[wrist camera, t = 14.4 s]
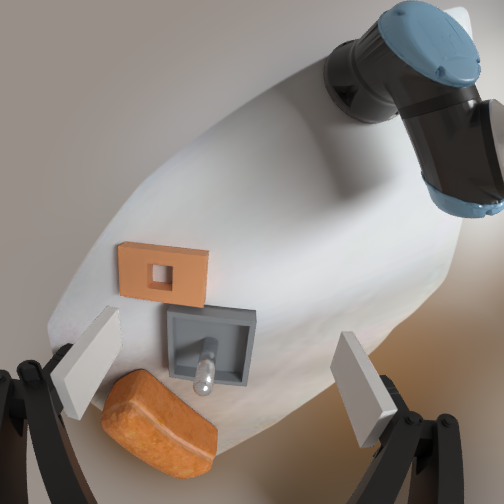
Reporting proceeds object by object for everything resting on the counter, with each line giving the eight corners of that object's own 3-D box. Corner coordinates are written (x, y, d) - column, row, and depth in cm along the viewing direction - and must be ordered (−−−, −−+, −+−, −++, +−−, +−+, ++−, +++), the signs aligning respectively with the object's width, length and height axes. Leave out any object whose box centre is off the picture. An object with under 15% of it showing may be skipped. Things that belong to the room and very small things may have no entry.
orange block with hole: (208, 250, 47) (206, 256, 44) (205, 299, 50) (203, 307, 47) (124, 241, 46) (117, 246, 43) (126, 288, 49) (120, 295, 46)
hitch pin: (219, 337, 51) (212, 387, 38) (218, 350, 52) (211, 401, 39) (202, 335, 51) (191, 385, 38) (202, 348, 51) (191, 398, 38)
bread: (184, 443, 62) (176, 489, 47) (109, 384, 56) (85, 430, 41) (223, 429, 60) (220, 480, 45) (145, 363, 54) (121, 416, 39)
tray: (255, 310, 50) (256, 321, 46) (246, 373, 55) (246, 386, 51) (172, 300, 49) (166, 311, 46) (173, 364, 54) (169, 377, 50)
